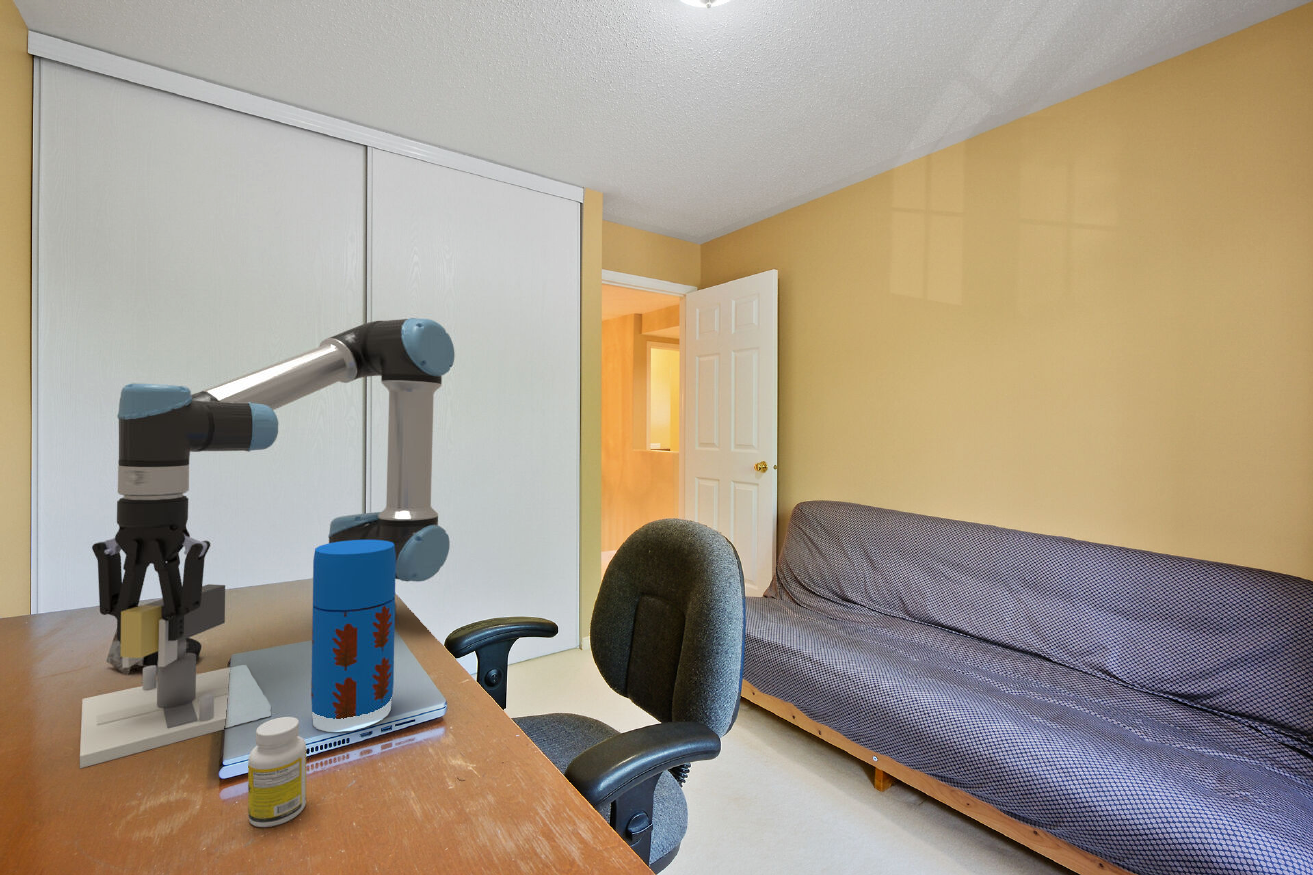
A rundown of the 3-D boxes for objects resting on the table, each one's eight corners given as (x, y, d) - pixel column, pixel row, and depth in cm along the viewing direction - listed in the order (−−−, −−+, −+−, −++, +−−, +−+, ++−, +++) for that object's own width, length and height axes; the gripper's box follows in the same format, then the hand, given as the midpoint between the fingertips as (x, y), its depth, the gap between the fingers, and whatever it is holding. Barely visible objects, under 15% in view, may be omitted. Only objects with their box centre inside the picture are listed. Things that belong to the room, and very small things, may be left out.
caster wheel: (204, 674, 105) (138, 688, 96) (167, 650, 110) (101, 661, 100) (215, 638, 106) (152, 648, 96) (178, 615, 110) (114, 623, 101)
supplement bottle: (265, 797, 68) (266, 713, 68) (315, 796, 68) (316, 712, 68) (236, 830, 62) (237, 738, 62) (290, 828, 63) (291, 737, 63)
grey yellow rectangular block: (207, 638, 93) (208, 583, 93) (224, 639, 93) (225, 584, 93) (120, 675, 79) (121, 611, 79) (140, 676, 79) (141, 612, 79)
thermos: (408, 705, 91) (411, 543, 90) (351, 739, 80) (354, 557, 80) (353, 693, 94) (356, 537, 94) (292, 724, 84) (295, 549, 84)
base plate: (245, 672, 101) (246, 625, 101) (271, 716, 86) (272, 661, 86) (82, 708, 87) (82, 654, 87) (79, 768, 72) (80, 703, 72)
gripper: (62, 497, 77) (58, 676, 77) (204, 500, 79) (200, 673, 80) (106, 490, 84) (103, 653, 85) (235, 493, 87) (231, 651, 87)
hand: (150, 662), depth 82 cm, fingers closed on grey yellow rectangular block, 4 cm apart
